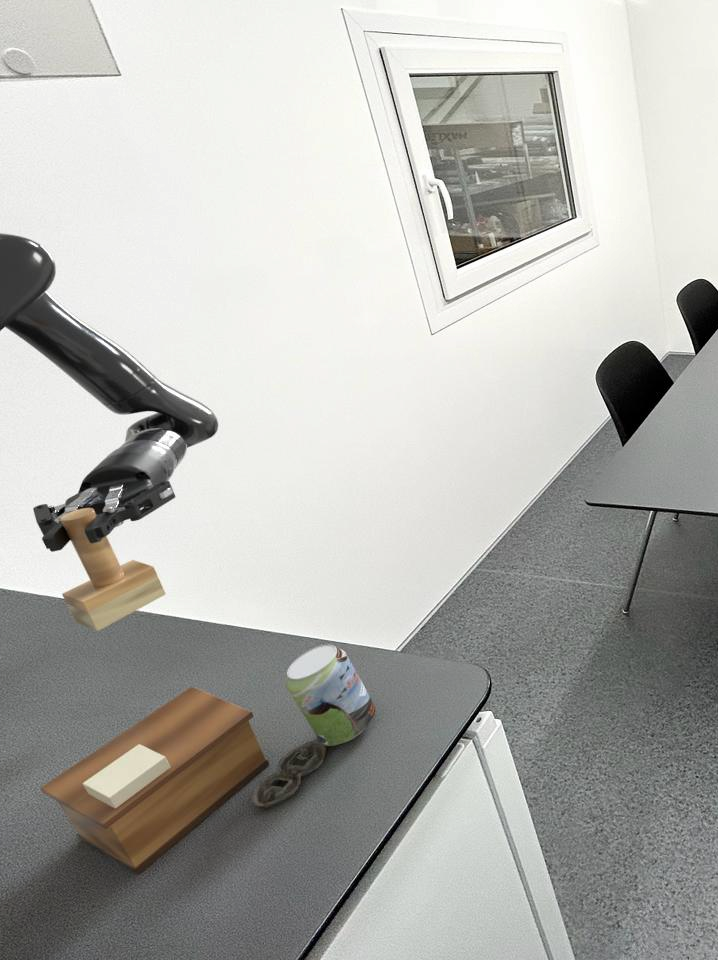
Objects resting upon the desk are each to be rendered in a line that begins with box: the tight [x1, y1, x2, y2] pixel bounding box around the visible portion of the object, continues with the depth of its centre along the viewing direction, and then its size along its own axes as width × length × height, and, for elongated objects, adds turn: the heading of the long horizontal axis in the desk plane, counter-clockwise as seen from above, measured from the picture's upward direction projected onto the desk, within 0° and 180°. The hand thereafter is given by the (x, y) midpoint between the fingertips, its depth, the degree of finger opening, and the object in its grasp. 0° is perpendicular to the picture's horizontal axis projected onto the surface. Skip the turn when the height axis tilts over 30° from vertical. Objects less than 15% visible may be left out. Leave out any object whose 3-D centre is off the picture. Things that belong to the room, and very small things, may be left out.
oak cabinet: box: [39, 686, 270, 876], centre depth 69 cm, size 11×13×8 cm
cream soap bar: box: [83, 744, 171, 809], centre depth 64 cm, size 4×4×2 cm
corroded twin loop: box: [251, 739, 327, 808], centre depth 72 cm, size 5×8×1 cm, turn 173°
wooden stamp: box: [60, 508, 166, 632], centre depth 79 cm, size 4×7×15 cm, turn 161°
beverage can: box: [285, 644, 376, 747], centre depth 76 cm, size 6×7×12 cm
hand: (72, 540), depth 75 cm, fingers closed on wooden stamp, 3 cm apart
